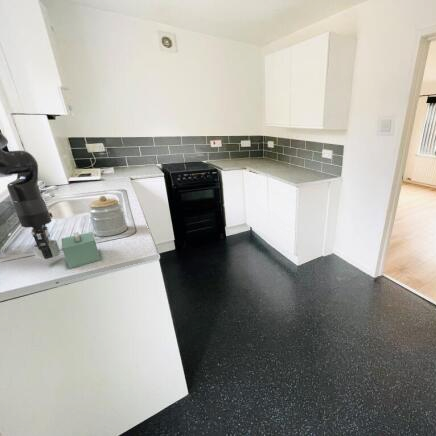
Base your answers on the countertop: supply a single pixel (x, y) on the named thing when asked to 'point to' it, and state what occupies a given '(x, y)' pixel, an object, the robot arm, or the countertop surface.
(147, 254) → the countertop surface
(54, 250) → the bowl
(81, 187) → the countertop surface
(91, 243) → the tissue box
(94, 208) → the jar
